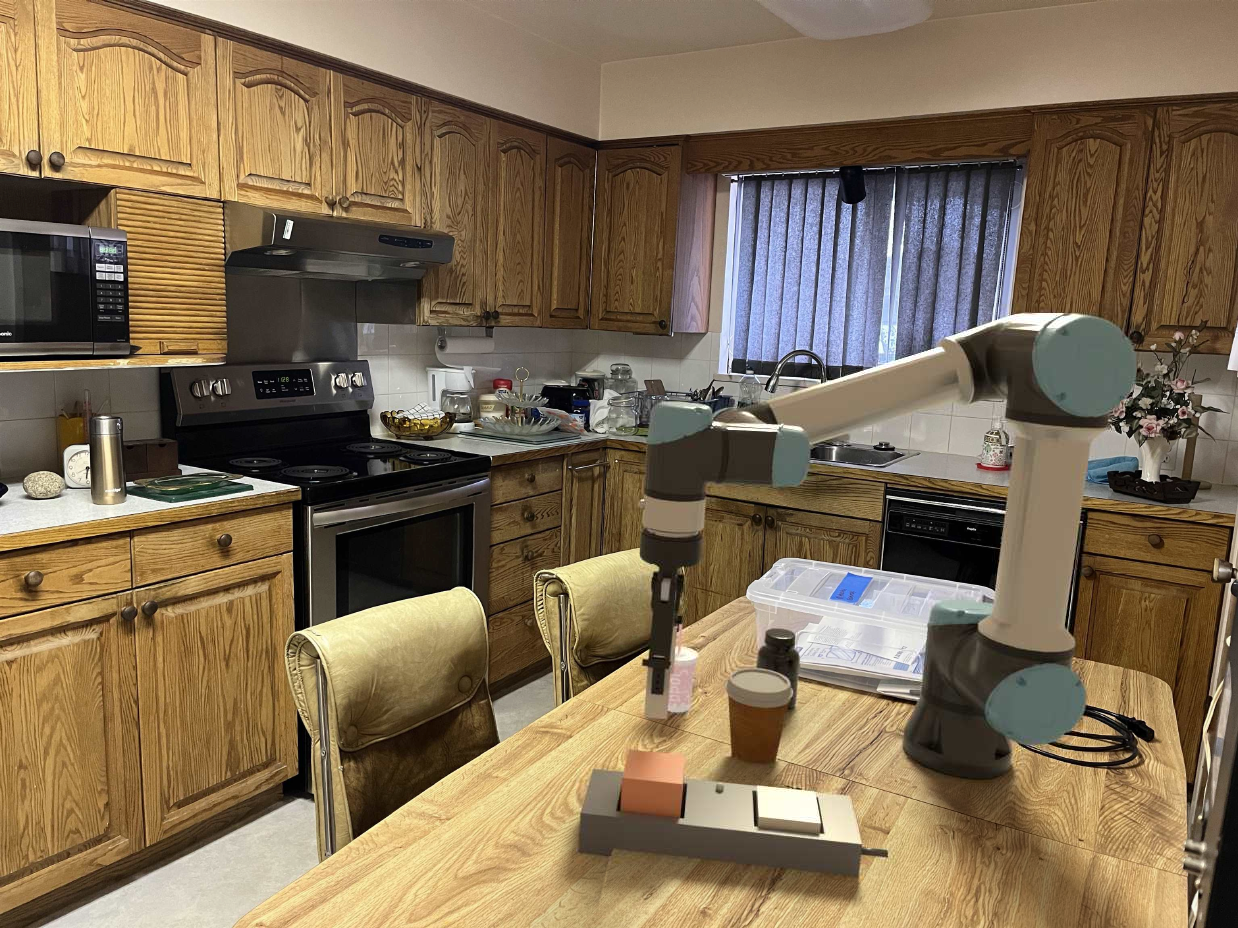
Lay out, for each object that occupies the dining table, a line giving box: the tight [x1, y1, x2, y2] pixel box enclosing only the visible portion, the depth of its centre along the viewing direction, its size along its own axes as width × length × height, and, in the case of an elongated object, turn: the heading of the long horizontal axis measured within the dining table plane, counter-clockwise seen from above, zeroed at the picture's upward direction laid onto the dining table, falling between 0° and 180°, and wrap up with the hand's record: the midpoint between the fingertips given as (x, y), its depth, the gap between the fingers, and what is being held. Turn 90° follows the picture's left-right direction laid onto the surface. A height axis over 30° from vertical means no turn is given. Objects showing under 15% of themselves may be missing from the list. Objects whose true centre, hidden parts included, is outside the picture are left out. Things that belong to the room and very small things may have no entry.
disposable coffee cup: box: [724, 667, 793, 765], centre depth 131 cm, size 10×10×12 cm
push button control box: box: [578, 768, 889, 878], centre depth 110 cm, size 36×10×6 cm, turn 83°
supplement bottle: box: [755, 627, 801, 711], centre depth 150 cm, size 7×7×12 cm
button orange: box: [620, 749, 686, 818], centre depth 110 cm, size 7×7×5 cm
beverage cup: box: [668, 623, 699, 713], centre depth 146 cm, size 6×6×14 cm
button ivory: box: [754, 785, 821, 834], centre depth 109 cm, size 7×7×5 cm
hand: (659, 693), depth 116 cm, fingers open, 13 cm apart
